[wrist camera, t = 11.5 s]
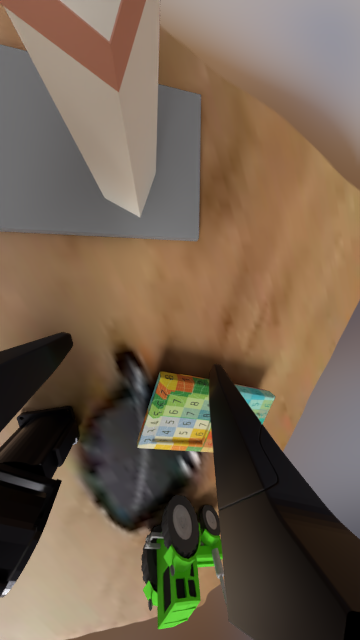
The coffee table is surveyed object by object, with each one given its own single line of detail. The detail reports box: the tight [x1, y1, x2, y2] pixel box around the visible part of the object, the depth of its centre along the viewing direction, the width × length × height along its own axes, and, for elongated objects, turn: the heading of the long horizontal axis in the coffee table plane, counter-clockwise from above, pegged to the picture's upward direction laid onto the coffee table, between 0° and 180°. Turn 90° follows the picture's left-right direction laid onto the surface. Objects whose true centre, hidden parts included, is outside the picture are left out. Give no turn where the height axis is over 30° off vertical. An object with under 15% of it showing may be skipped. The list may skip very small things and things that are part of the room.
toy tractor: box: [141, 495, 227, 629], centre depth 26 cm, size 11×16×10 cm
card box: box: [0, 0, 160, 217], centre depth 10 cm, size 5×4×12 cm
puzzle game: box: [137, 372, 275, 452], centre depth 23 cm, size 12×5×20 cm
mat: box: [0, 45, 201, 241], centre depth 15 cm, size 24×14×1 cm, turn 90°
